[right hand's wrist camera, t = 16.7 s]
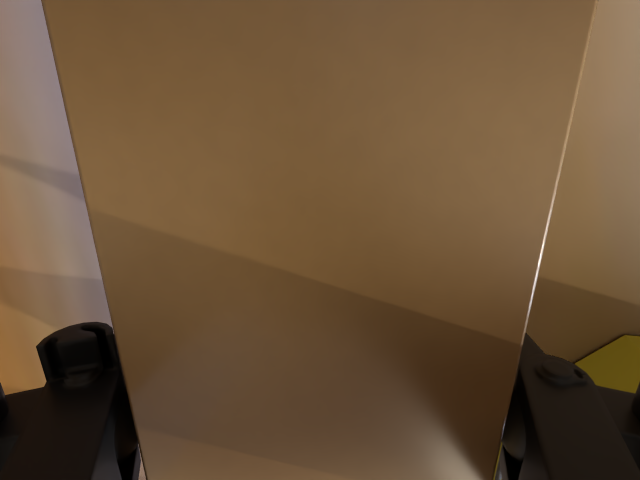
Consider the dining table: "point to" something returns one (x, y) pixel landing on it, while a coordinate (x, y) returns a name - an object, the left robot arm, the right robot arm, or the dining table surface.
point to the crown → (613, 366)
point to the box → (319, 221)
